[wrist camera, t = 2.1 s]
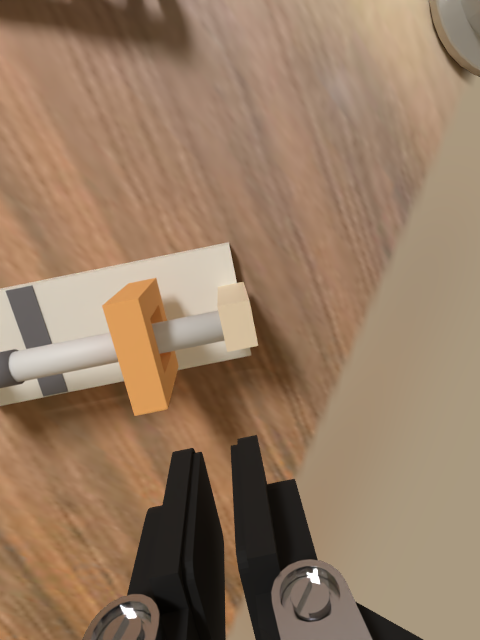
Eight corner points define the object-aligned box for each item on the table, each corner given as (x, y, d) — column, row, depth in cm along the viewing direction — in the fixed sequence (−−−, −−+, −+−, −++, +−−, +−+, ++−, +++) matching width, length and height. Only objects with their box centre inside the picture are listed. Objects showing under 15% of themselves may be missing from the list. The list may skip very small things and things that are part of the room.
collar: (156, 277, 29) (137, 298, 22) (178, 366, 31) (167, 409, 24) (128, 283, 29) (102, 305, 22) (152, 371, 31) (134, 415, 24)
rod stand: (234, 241, 32) (240, 252, 24) (255, 347, 35) (266, 389, 27) (-54, 299, 32) (-142, 329, 24) (-13, 402, 35) (-81, 459, 27)
